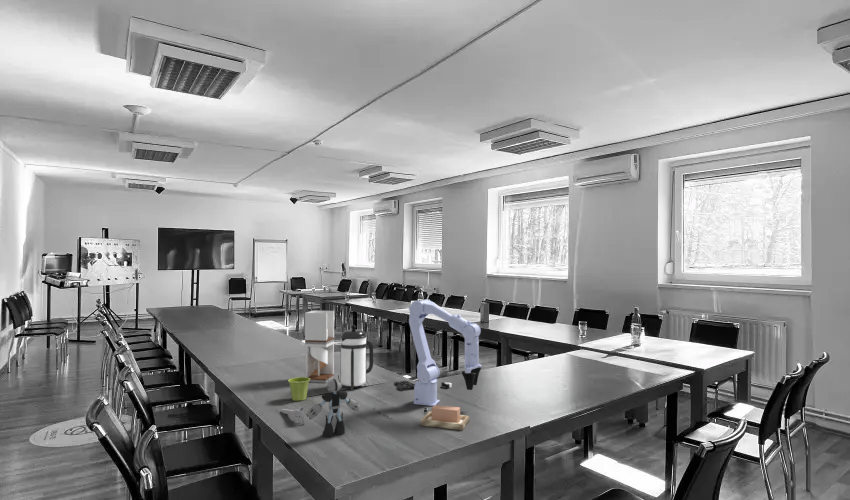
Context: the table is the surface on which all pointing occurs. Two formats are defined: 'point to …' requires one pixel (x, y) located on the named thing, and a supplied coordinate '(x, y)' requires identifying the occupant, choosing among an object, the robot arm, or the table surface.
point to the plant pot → (299, 388)
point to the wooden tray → (450, 425)
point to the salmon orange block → (446, 413)
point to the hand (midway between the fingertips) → (471, 387)
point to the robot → (333, 408)
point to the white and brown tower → (319, 345)
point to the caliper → (296, 414)
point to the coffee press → (354, 358)
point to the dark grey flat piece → (407, 386)
